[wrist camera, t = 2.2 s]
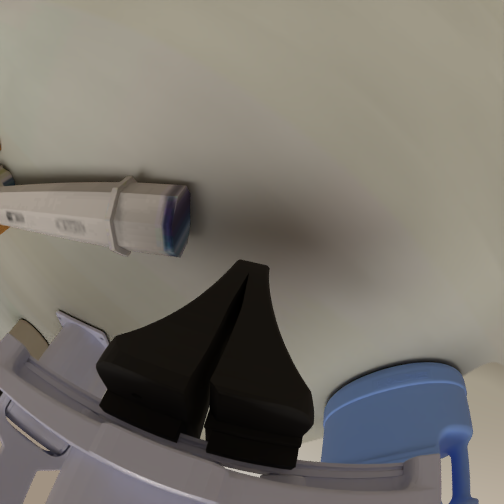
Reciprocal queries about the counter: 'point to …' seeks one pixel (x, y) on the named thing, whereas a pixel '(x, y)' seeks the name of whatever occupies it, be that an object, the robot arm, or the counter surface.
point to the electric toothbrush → (101, 213)
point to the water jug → (402, 420)
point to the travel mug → (29, 339)
